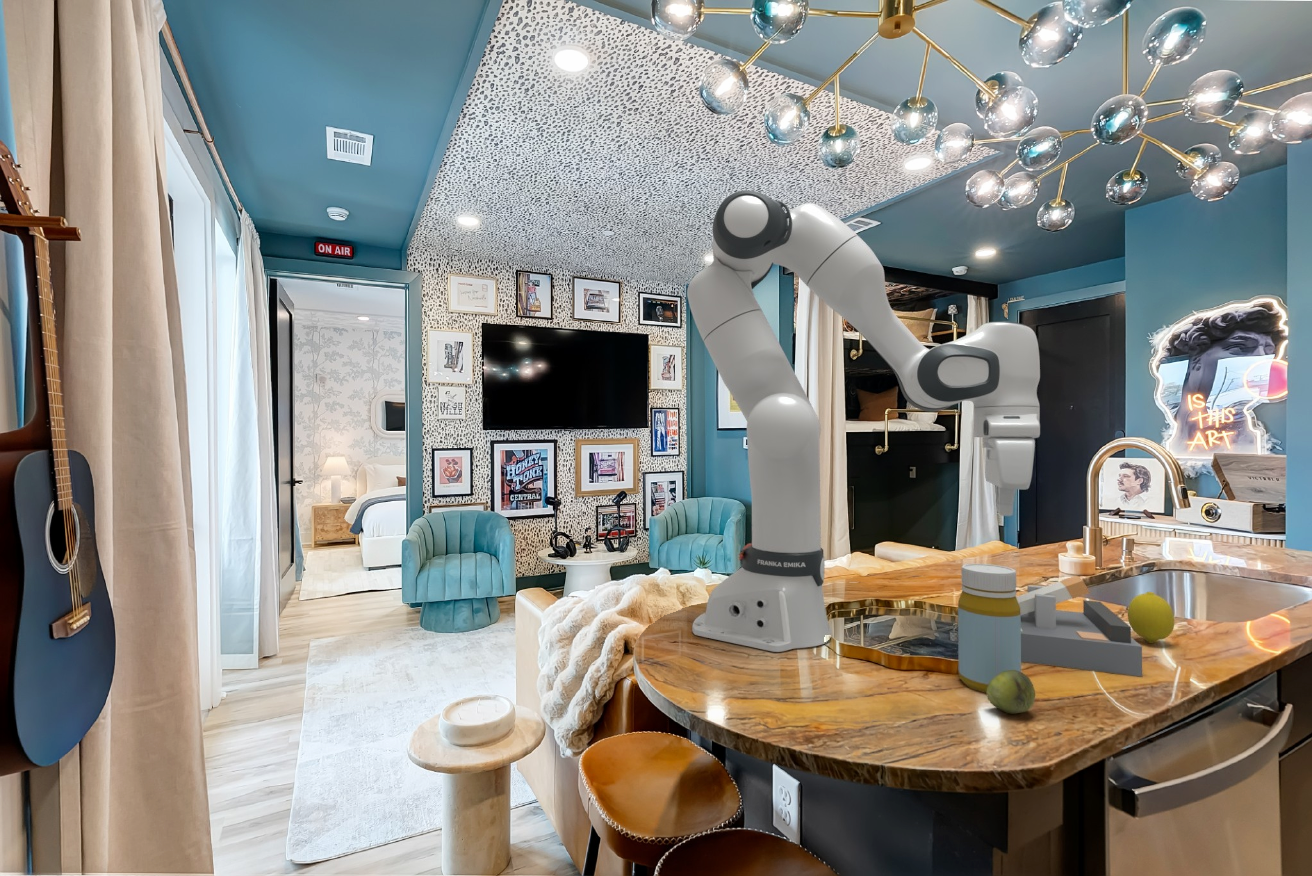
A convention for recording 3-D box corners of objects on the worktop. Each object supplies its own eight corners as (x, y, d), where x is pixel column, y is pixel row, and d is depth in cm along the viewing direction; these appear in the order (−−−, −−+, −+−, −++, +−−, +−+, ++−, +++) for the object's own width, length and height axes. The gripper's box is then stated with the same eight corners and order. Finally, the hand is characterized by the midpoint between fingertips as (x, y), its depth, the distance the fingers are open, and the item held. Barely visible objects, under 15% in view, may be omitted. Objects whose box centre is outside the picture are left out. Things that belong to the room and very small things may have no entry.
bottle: (1030, 698, 71) (1029, 575, 72) (968, 693, 73) (967, 573, 73) (1008, 676, 78) (1007, 564, 78) (952, 672, 80) (951, 562, 80)
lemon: (1182, 651, 88) (1181, 597, 88) (1137, 646, 89) (1136, 594, 90) (1163, 639, 93) (1163, 588, 93) (1121, 635, 95) (1121, 586, 95)
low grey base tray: (972, 655, 86) (971, 596, 86) (963, 624, 101) (963, 574, 101) (1142, 676, 78) (1141, 612, 78) (1105, 639, 93) (1105, 585, 93)
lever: (1005, 621, 89) (999, 609, 90) (1001, 613, 93) (995, 602, 94) (1090, 593, 85) (1083, 580, 86) (1083, 586, 89) (1076, 575, 89)
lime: (982, 711, 68) (982, 668, 68) (1000, 700, 71) (1000, 659, 71) (1025, 726, 64) (1024, 680, 64) (1042, 713, 67) (1041, 670, 67)
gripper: (976, 428, 102) (975, 507, 102) (990, 424, 84) (989, 521, 83) (1018, 428, 100) (1017, 509, 100) (1042, 424, 81) (1041, 524, 81)
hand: (1004, 515), depth 91 cm, fingers closed
